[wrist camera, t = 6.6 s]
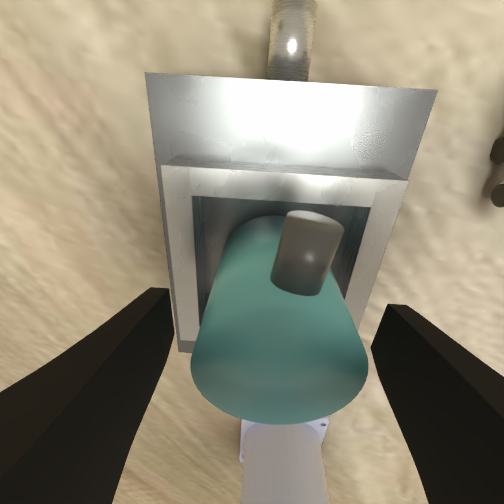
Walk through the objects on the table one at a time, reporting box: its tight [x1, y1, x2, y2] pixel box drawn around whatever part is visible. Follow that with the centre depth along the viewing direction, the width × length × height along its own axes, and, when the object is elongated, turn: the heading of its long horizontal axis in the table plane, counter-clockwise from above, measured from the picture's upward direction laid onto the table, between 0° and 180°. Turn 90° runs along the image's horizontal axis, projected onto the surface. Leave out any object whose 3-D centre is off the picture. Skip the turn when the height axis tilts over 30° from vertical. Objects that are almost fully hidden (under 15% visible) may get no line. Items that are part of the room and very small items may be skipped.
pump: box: [191, 210, 368, 425], centre depth 9 cm, size 6×5×6 cm
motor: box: [145, 0, 438, 353], centre depth 13 cm, size 16×10×5 cm, turn 177°
